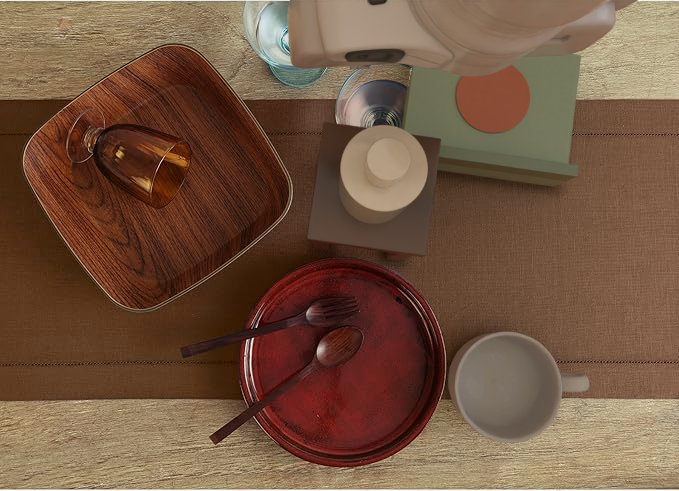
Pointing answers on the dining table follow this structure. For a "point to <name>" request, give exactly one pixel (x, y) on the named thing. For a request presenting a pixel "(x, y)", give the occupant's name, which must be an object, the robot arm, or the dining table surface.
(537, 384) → the teacup
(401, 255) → the stand
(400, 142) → the bottle
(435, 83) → the green block orange circle
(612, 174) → the dining table surface
